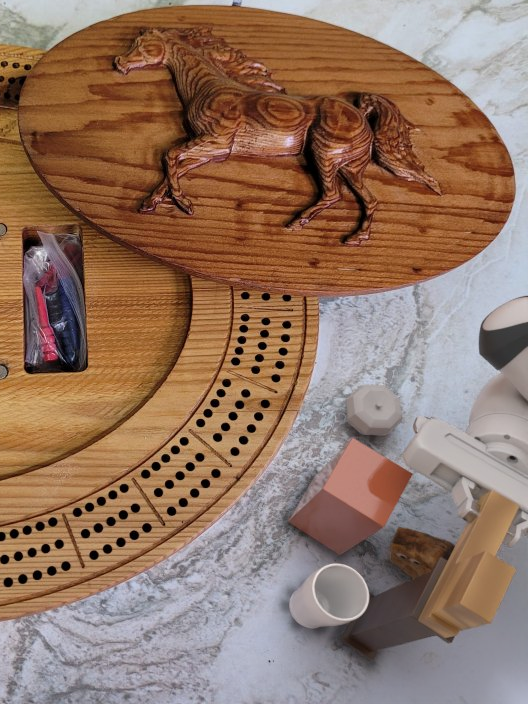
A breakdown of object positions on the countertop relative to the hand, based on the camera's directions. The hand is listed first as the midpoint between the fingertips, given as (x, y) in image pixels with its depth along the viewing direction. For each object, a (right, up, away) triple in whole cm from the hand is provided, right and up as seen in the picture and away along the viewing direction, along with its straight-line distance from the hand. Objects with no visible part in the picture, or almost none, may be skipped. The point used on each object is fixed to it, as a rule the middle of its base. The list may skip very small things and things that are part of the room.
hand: (487, 528), depth 87 cm
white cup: (-11, -17, +24) cm, 31 cm away
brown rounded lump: (+5, -12, +25) cm, 28 cm away
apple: (+2, +7, +35) cm, 36 cm away
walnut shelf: (-3, -19, +22) cm, 29 cm away
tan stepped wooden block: (-2, -4, 0) cm, 5 cm away
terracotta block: (-6, -5, +29) cm, 30 cm away
